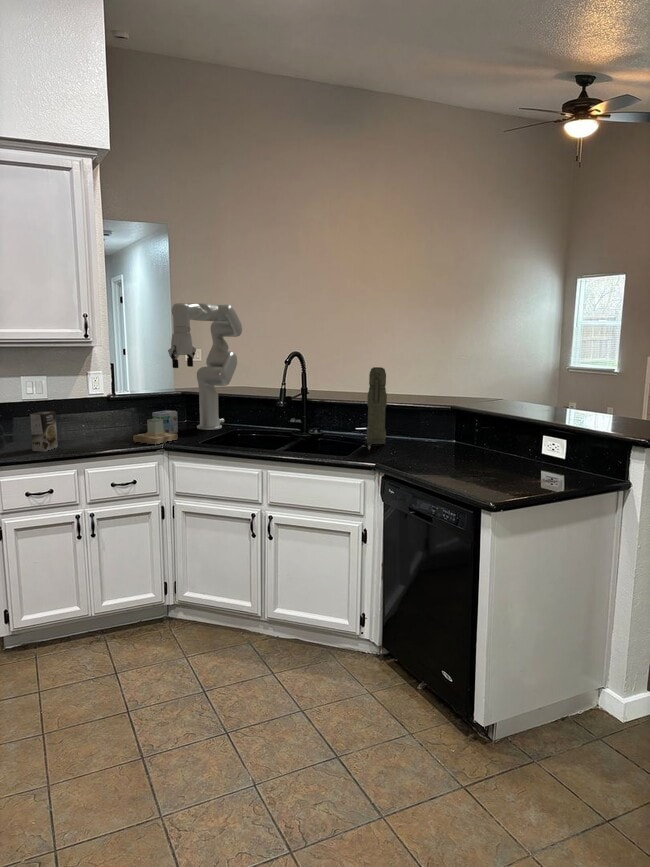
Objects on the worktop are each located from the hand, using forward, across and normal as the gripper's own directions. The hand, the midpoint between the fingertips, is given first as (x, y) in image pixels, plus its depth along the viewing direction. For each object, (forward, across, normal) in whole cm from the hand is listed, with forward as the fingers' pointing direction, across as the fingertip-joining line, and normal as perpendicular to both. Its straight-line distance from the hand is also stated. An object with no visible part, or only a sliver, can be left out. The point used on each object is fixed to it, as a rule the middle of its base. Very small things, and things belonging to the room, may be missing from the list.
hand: (182, 367), depth 303 cm
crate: (+30, +16, -3) cm, 34 cm away
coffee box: (+34, +55, -29) cm, 71 cm away
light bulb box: (+34, -1, -14) cm, 36 cm away
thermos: (+34, -38, +84) cm, 98 cm away
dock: (+33, +16, -3) cm, 37 cm away
